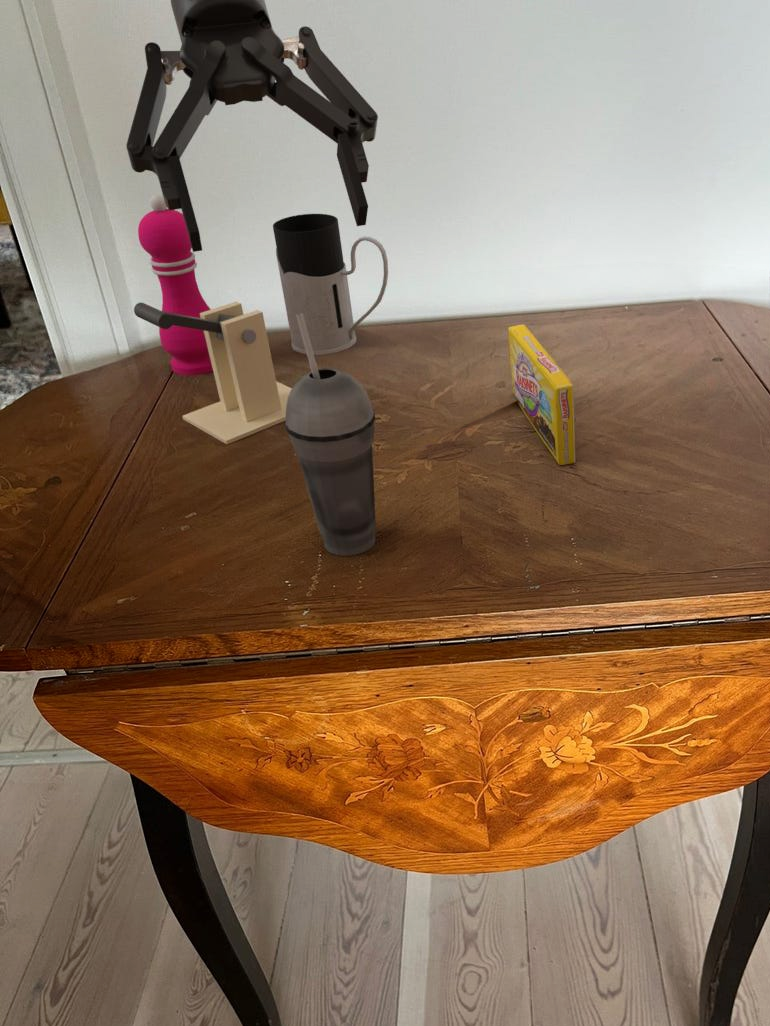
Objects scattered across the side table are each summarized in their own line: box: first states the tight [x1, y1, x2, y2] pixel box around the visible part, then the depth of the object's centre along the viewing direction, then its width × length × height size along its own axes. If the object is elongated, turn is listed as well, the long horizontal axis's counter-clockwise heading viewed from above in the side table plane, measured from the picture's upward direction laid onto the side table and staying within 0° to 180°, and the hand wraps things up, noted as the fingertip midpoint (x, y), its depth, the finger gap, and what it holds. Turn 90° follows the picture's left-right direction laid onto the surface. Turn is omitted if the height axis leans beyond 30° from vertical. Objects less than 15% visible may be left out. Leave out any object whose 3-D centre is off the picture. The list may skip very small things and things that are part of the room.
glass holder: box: [272, 213, 389, 356], centre depth 113 cm, size 9×14×15 cm, turn 70°
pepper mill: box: [137, 194, 213, 376], centre depth 109 cm, size 7×7×20 cm
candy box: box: [508, 324, 576, 466], centre depth 96 cm, size 16×2×8 cm, turn 14°
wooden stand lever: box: [133, 302, 235, 341], centre depth 95 cm, size 11×5×2 cm, turn 134°
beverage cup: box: [284, 314, 377, 557], centre depth 77 cm, size 7×7×20 cm
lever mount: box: [181, 301, 293, 445], centre depth 100 cm, size 12×9×12 cm
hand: (281, 229), depth 77 cm, fingers open, 13 cm apart
